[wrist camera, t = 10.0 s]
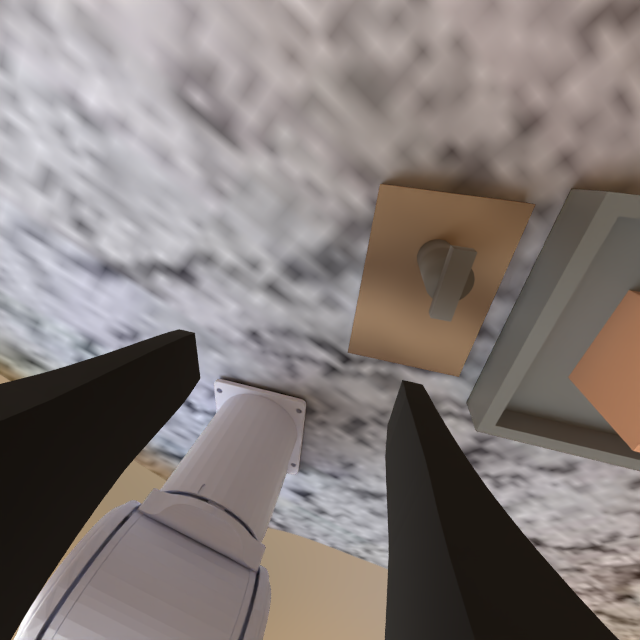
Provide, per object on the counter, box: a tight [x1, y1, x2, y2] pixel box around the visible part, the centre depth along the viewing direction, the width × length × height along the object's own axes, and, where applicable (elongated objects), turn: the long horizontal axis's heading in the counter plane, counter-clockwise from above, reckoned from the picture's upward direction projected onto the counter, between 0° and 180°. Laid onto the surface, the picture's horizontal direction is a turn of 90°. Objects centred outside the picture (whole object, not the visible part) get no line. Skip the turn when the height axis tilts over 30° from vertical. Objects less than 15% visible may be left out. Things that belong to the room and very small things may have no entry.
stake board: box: [348, 184, 536, 377], centre depth 14 cm, size 10×7×6 cm
